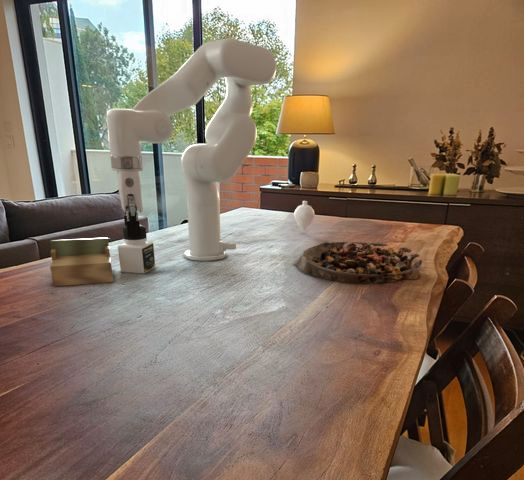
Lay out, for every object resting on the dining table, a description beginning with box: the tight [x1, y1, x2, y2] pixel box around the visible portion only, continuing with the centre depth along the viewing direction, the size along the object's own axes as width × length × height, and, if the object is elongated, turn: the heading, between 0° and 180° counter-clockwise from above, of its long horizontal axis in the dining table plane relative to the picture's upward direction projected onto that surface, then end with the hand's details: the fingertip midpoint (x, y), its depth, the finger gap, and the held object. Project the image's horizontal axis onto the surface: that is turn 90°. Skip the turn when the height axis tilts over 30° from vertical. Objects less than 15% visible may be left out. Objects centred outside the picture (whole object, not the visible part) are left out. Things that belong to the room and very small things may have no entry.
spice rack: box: [49, 237, 114, 287], centre depth 116 cm, size 14×11×9 cm
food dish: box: [294, 241, 423, 284], centre depth 129 cm, size 35×33×8 cm
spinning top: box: [293, 200, 315, 234], centre depth 173 cm, size 8×8×12 cm
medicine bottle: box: [117, 224, 156, 274], centre depth 124 cm, size 7×7×12 cm
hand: (132, 233), depth 122 cm, fingers open, 9 cm apart
